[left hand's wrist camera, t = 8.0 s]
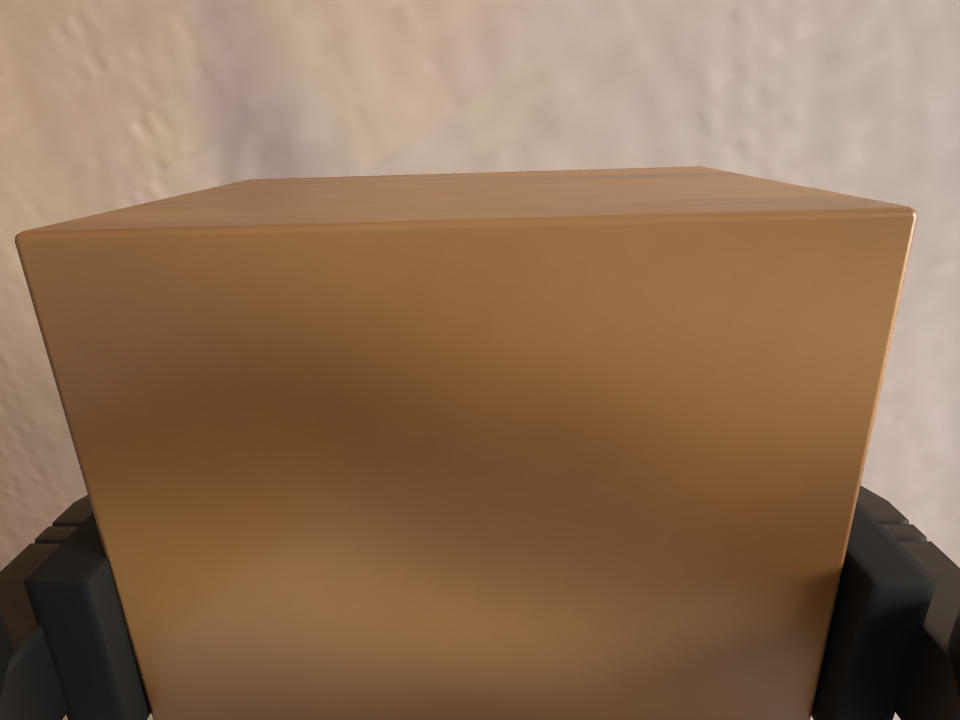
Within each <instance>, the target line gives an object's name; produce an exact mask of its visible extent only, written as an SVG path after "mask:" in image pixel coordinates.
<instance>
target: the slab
mask: <svg viewBox="0 0 960 720" xmlns="http://www.w3.org/2000/svg"><path fill="white" fill-rule="evenodd" d="M916 222H917V211H916V210H915V209H912V208H910V207H907V206H902V205H896V204H891V203H886V202H881V201H876V200H871V199H865V198H860V197H855V196H850V195H845V194H840V193H834V192H829V191H824V190H819V189H814V188H809V187H803V186H798V185H793V184H788V183H783V182H777V181H772V180H767V179H762V178H757V177H752V176H746V175H741V174H736V173H731V172H726V171H721V170H715V169H710V168H705V167H666V168H631V169H597V170H562V171H528V172H494V173H459V174H425V175H390V176H356V177H322V178H287V179H253V180H245V181H241V182H237V183H232V184H228V185H223V186H219V187H215V188H210V189H206V190H202V191H197V192H193V193H188V194H184V195H180V196H175V197H171V198H167V199H162V200H158V201H154V202H149V203H145V204H140V205H136V206H132V207H127V208H123V209H119V210H114V211H110V212H106V213H101V214H97V215H92V216H88V217H84V218H79V219H75V220H71V221H66V222H62V223H57V224H53V225H49V226H44V227H40V228H36V229H31V230H27V231H23V232H21V233H19V234H17V235H16V236H15V244H16V247H17V250H18V254H19V257H20V261H21V264H22V268H23V271H24V275H25V278H26V282H27V285H28V288H29V292H30V295H31V299H32V302H33V306H34V309H35V313H36V316H37V320H38V323H39V326H40V330H41V333H42V337H43V340H44V344H45V347H46V351H47V354H48V358H49V361H50V364H51V368H52V371H53V375H54V378H55V382H56V385H57V389H58V392H59V396H60V399H61V403H62V406H63V409H64V413H65V416H66V420H67V423H68V427H69V430H70V434H71V437H72V441H73V444H74V447H75V451H76V454H77V458H78V461H79V465H80V468H81V472H82V475H83V479H84V482H85V485H86V489H87V492H88V496H89V499H90V503H91V506H92V510H93V513H94V517H95V520H96V523H97V527H98V530H99V534H100V537H101V541H102V544H103V548H104V551H105V555H106V557H107V558H108V561H109V565H110V569H111V572H112V576H113V580H114V584H115V588H116V591H117V595H118V599H119V603H120V606H121V610H122V613H123V617H124V620H125V624H126V627H127V631H128V634H129V637H130V641H131V644H132V648H133V651H134V655H135V658H136V662H137V665H138V669H139V672H140V675H141V679H142V682H143V686H144V689H145V693H146V696H147V700H148V703H149V707H150V710H151V713H152V717H153V720H810V717H811V712H812V708H813V703H814V698H815V694H816V689H817V684H818V680H819V675H820V670H821V666H822V661H823V656H824V652H825V647H826V642H827V638H828V633H829V628H830V624H831V619H832V614H833V610H834V605H835V600H836V596H837V591H838V586H839V582H840V577H841V572H842V568H843V563H844V558H845V554H846V549H847V544H848V540H849V535H850V530H851V525H852V521H853V516H854V511H855V507H856V502H857V497H858V493H859V488H860V483H861V479H862V474H863V469H864V465H865V460H866V455H867V451H868V446H869V441H870V437H871V432H872V427H873V423H874V418H875V413H876V409H877V404H878V399H879V395H880V390H881V385H882V381H883V376H884V371H885V367H886V362H887V357H888V353H889V348H890V343H891V339H892V334H893V329H894V325H895V320H896V315H897V310H898V306H899V301H900V296H901V292H902V287H903V282H904V278H905V273H906V268H907V264H908V259H909V254H910V250H911V245H912V240H913V236H914V231H915V226H916Z"/></svg>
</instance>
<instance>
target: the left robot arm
mask: <svg viewBox="0 0 960 720" xmlns="http://www.w3.org/2000/svg"><path fill="white" fill-rule="evenodd" d="M895 712H896V713H897V715H898V716H899V718H900V719H901V720H960V568H959V567H958V566H957V565H956V564H955V563H954V562H952V561H951V560H950V559H949V558H948V557H947V556H946V555H945V554H944V553H943V552H942V551H941V550H940V549H939V548H938V547H936V546H935V545H934V544H933V543H932V542H927V539H926V536H925V535H924V534H923V533H921V532H920V531H919V530H918V529H917V528H916V527H915V526H914V525H909V520H908V519H906V518H905V517H904V516H903V515H902V514H901V513H900V512H899V511H898V510H897V509H896V508H895V507H894V506H893V505H891V504H890V503H889V502H888V501H887V500H885V499H883V498H882V497H880V496H878V495H876V494H875V493H873V492H871V491H869V490H867V489H866V488H864V487H862V486H860V488H859V493H858V497H857V502H856V507H855V511H854V516H853V521H852V525H851V530H850V535H849V540H848V544H847V549H846V554H845V558H844V563H843V568H842V572H841V577H840V582H839V586H838V591H837V596H836V600H835V605H834V610H833V614H832V619H831V624H830V628H829V633H828V638H827V642H826V647H825V652H824V656H823V661H822V666H821V670H820V675H819V680H818V684H817V689H816V694H815V698H814V703H813V708H812V712H811V716H812V717H813V719H814V720H893V717H894V714H895ZM150 713H151V710H150V707H149V703H148V700H147V696H146V693H145V689H144V686H143V682H142V679H141V675H140V672H139V669H138V665H137V662H136V658H135V655H134V651H133V648H132V644H131V641H130V637H129V634H128V631H127V627H126V624H125V620H124V617H123V613H122V610H121V606H120V603H119V599H118V595H117V591H116V588H115V584H114V580H113V576H112V572H111V569H110V565H109V561H108V558H107V557H106V555H105V551H104V548H103V544H102V541H101V537H100V534H99V530H98V527H97V523H96V520H95V517H94V513H93V510H92V506H91V503H90V499H89V496H88V495H87V496H85V497H83V498H82V499H80V500H78V501H76V502H74V503H73V504H72V505H71V506H70V507H69V508H68V509H67V510H66V511H65V512H64V513H63V514H61V515H60V516H59V517H58V518H57V519H56V520H55V521H54V522H53V525H52V527H48V528H47V529H45V530H44V531H43V532H42V533H41V534H40V535H39V536H38V537H37V538H36V539H35V543H34V544H30V545H28V546H27V547H26V548H25V549H24V550H23V551H22V552H21V553H20V554H19V555H18V556H17V557H16V558H15V559H14V560H13V561H11V562H10V563H9V564H8V565H7V566H6V567H5V568H4V569H3V570H2V571H1V572H0V720H62V719H63V718H64V716H65V715H67V718H68V720H147V719H148V717H149V715H150Z"/></svg>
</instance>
